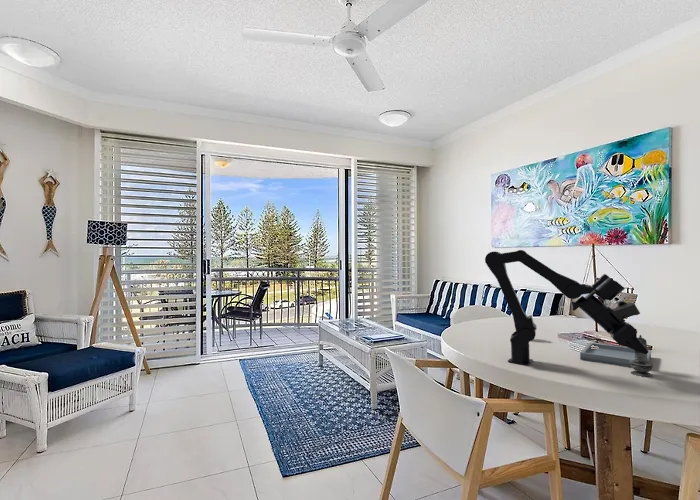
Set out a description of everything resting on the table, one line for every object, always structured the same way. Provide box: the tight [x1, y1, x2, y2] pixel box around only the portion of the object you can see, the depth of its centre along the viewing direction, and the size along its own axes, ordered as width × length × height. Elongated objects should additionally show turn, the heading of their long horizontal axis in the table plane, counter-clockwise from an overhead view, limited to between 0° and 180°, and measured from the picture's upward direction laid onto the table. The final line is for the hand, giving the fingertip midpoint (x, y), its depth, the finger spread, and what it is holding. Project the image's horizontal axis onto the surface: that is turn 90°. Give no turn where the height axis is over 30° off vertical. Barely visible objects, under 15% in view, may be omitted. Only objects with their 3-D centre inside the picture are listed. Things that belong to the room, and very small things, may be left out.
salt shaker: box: [629, 334, 654, 378], centre depth 111 cm, size 6×6×12 cm
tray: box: [579, 342, 652, 369], centre depth 127 cm, size 18×18×2 cm
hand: (642, 349), depth 111 cm, fingers open, 9 cm apart
